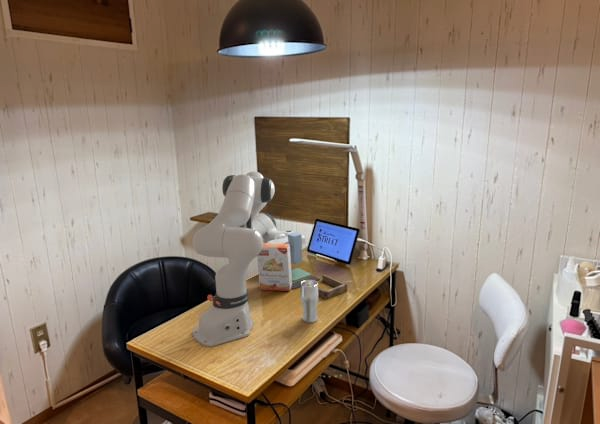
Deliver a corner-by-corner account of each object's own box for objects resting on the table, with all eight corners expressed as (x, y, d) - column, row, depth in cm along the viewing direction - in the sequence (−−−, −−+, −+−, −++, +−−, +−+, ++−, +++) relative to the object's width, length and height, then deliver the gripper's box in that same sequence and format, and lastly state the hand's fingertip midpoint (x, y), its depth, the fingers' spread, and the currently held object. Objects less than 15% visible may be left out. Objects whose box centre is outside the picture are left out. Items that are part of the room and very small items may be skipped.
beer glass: (307, 325, 155) (306, 288, 152) (297, 317, 161) (296, 282, 157) (322, 319, 159) (322, 283, 155) (312, 312, 165) (311, 277, 161)
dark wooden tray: (326, 299, 176) (326, 292, 175) (304, 287, 187) (303, 281, 186) (347, 290, 183) (347, 284, 182) (324, 280, 195) (324, 274, 194)
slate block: (294, 264, 197) (293, 236, 193) (288, 261, 200) (287, 234, 196) (302, 261, 199) (301, 234, 196) (296, 259, 203) (295, 232, 199)
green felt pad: (293, 281, 194) (293, 280, 194) (280, 274, 202) (280, 273, 202) (311, 275, 201) (311, 274, 200) (297, 268, 209) (297, 267, 209)
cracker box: (259, 290, 186) (255, 247, 180) (263, 284, 191) (259, 242, 186) (290, 291, 183) (287, 247, 177) (292, 285, 189) (289, 242, 183)
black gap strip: (293, 289, 186) (293, 288, 186) (286, 286, 190) (286, 285, 189) (319, 279, 195) (319, 278, 195) (312, 276, 199) (312, 275, 199)
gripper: (261, 238, 200) (278, 245, 190) (294, 229, 213) (312, 235, 202) (262, 250, 202) (278, 258, 191) (295, 241, 214) (312, 247, 204)
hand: (296, 246), depth 197 cm, fingers closed on slate block, 5 cm apart
